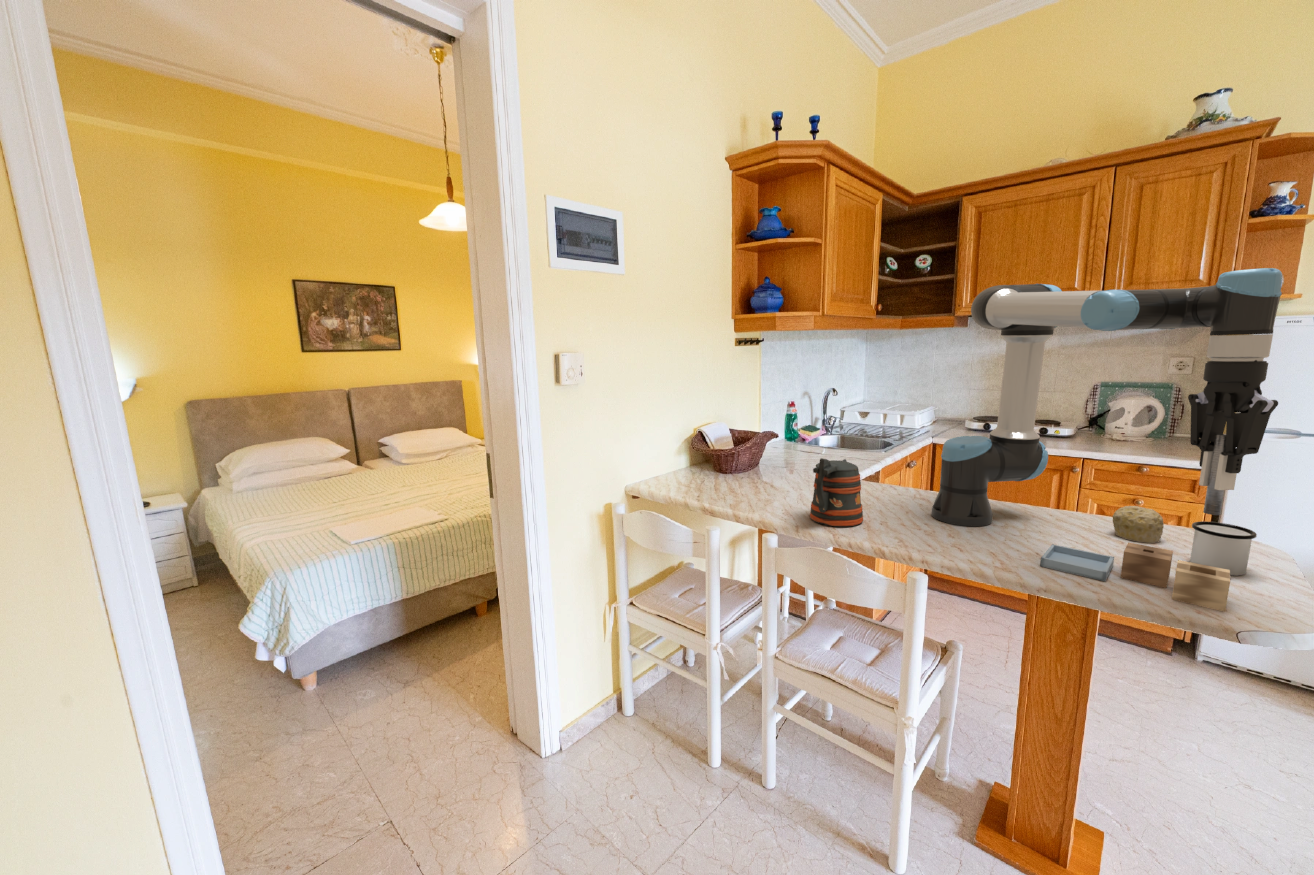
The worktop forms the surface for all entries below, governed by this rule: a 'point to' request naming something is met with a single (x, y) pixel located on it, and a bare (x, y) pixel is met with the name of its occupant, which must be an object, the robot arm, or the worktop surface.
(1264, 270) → the robot arm
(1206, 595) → the oak block
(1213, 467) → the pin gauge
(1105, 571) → the tray
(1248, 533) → the mug
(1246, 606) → the worktop surface
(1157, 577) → the walnut block
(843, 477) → the beer stein
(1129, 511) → the coral
